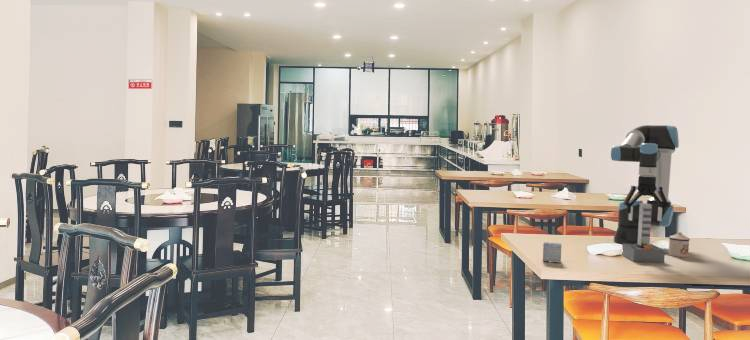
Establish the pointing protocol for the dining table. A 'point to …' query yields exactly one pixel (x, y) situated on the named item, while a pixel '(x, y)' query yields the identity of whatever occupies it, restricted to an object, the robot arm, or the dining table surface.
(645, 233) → the column
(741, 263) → the dining table surface
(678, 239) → the teacup with lid
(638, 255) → the sleeve base
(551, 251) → the medicine box
